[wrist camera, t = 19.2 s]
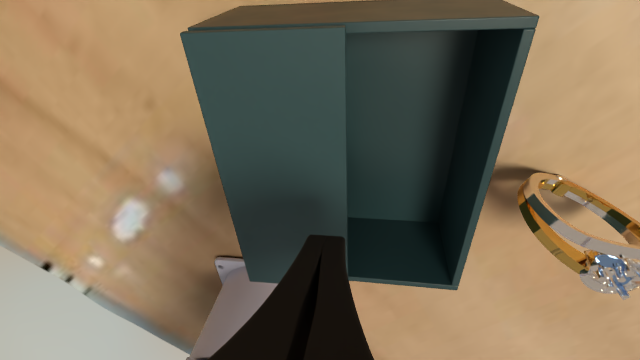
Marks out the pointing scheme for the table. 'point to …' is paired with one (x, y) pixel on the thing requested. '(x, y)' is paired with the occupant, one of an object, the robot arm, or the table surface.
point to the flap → (276, 135)
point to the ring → (584, 235)
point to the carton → (415, 122)
